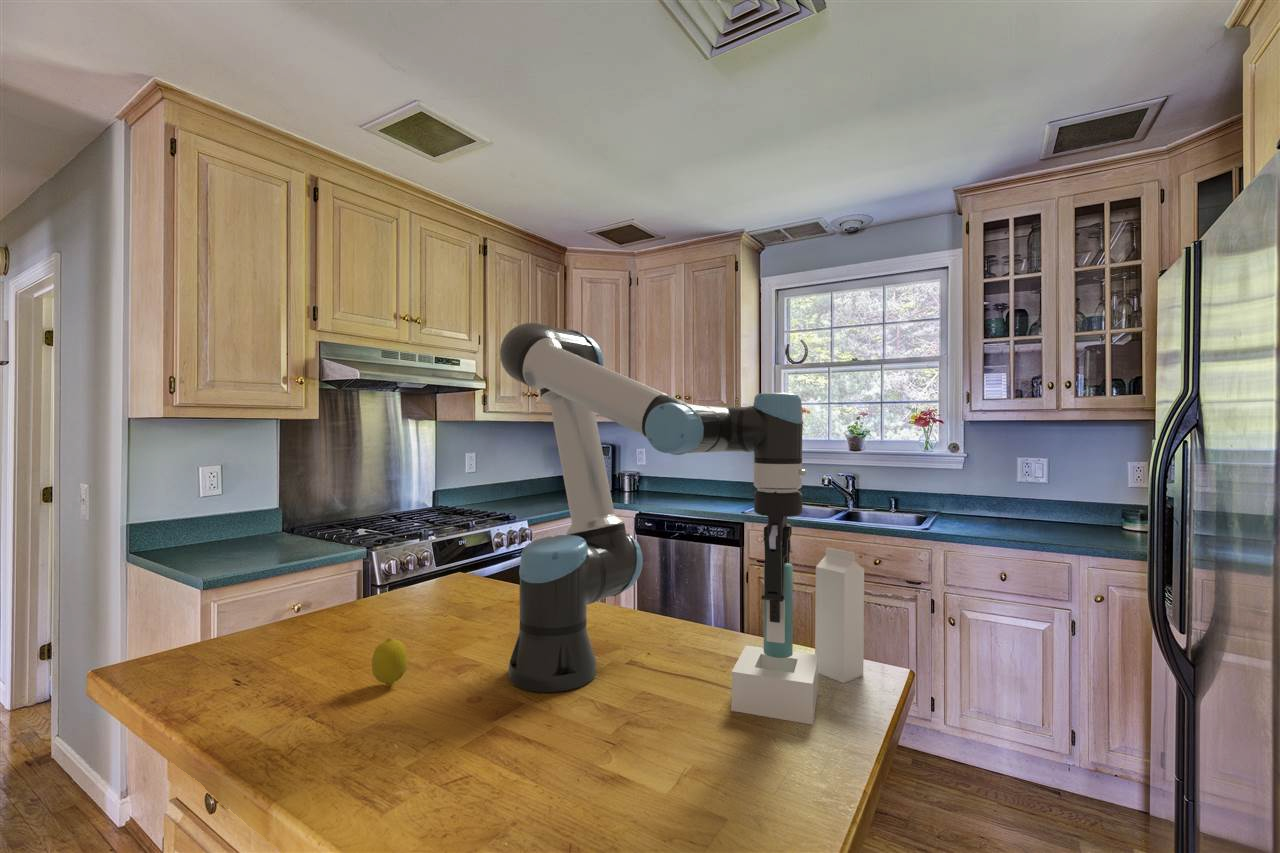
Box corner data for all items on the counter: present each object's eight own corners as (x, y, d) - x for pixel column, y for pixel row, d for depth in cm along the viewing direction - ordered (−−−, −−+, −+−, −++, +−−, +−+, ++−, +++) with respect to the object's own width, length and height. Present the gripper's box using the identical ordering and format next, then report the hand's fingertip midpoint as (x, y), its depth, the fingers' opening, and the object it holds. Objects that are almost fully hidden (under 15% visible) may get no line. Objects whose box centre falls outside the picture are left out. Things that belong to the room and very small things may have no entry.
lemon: (414, 682, 102) (415, 635, 102) (388, 695, 97) (388, 645, 97) (390, 676, 104) (391, 630, 104) (363, 689, 99) (364, 640, 99)
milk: (843, 684, 103) (844, 555, 103) (814, 672, 108) (815, 549, 108) (864, 675, 106) (865, 550, 106) (834, 664, 111) (835, 545, 111)
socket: (731, 710, 92) (731, 671, 92) (745, 680, 104) (745, 645, 104) (812, 724, 88) (812, 683, 88) (818, 691, 100) (818, 655, 100)
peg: (761, 655, 95) (761, 566, 95) (765, 646, 99) (766, 560, 99) (790, 659, 93) (791, 568, 93) (793, 649, 97) (794, 562, 97)
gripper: (796, 496, 87) (796, 658, 86) (806, 486, 103) (806, 622, 103) (744, 494, 89) (744, 651, 89) (762, 484, 106) (762, 617, 105)
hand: (777, 635), depth 96 cm, fingers closed on peg, 4 cm apart
